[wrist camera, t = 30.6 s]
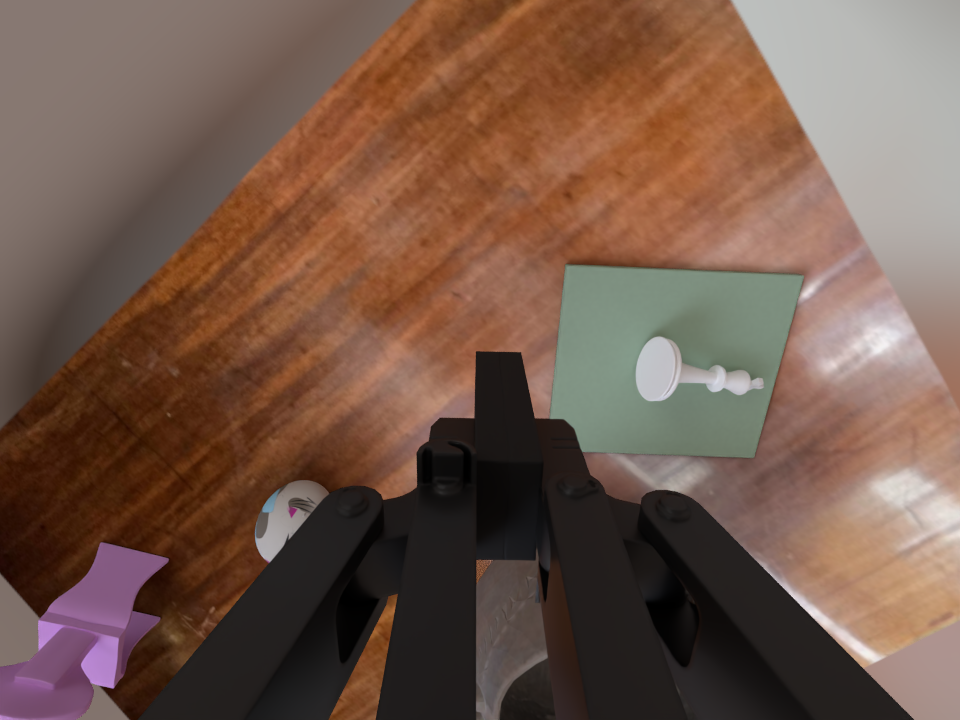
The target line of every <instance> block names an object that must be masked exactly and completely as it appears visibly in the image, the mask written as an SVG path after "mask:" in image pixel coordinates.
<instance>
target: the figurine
mask: <svg viewBox="0 0 960 720" xmlns="http://www.w3.org/2000/svg"><path fill="white" fill-rule="evenodd" d="M327 495H329V492H328V491H327V490H326V489H325V488H324V487H323V486H322V485H320V484H318V483H316V482H314V481H309V480H299V481H294V482H291V483H289V484H286V485H285V486H283V487H281V488H280V489H278V490H277V491H276V492H275V493H274V494H273V495H272V496H271V497H270V498H269V499H268V500H267V502H266V503H265V504H264V506H263V508H262V510H261V512H260V514H259V516H258V520H257V523H256V529H255V539H256V545H257V548H258V550H259V552H260V554H261V556H262V557H263V558H264V559H265V560H266V561H267V562H269V563H270V562H271V560H272V559H273V558H274V557H275V556H276V555H277V553H278V552H279V551H280V550H281V549H282V547H283V546H284V545H285V544H286V543H287V541H288V540H289V539H290V538H291V537H292V535H293V534H294V533H295V532H296V531H297V529H298V528H299V527H300V526H301V525H302V524H303V522H304V521H305V520H306V519H307V518H308V516H309V515H310V514H311V513H312V512H313V510H314V509H315V508H316V507H317V506H318V504H319V503H320V502H321V501H322V500H323V499H324V498H325V497H326V496H327Z"/></svg>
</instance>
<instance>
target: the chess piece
mask: <svg viewBox="0 0 960 720" xmlns="http://www.w3.org/2000/svg"><path fill="white" fill-rule="evenodd" d="M678 383H706V386H707V388H708V389H709V390H710V391H711V392H718V391H720V390H722V389H723V388H725V389H728V390H729V391H731V392H732V393H734V394H736V395H743V394H745V393H746V392H747V391H749V390H751V389H753V388H755V389H762V388H764V382H763V378H756V379H754V380H751V379H750V375H749V374H748V373H747V372H746V371H744V370H736V371H732V372H726V370H725V369H724V368H723V367H721V366H720V365H714V366H712V367H711V368H710V369H709V370H708V371H707V370H704V369H700V368H697V367H694V366H690V365H687V364H684V363H682V358H681V353H680V350H679V348H678V346H677V345H676V344H675V343H674V342H673V341H672V340H670V339H666V338H664V337H661V336H658V337H654V338H652V339H651V340H649V341H648V342H647V343H646V344H645V346H644V347H643V349H642V351H641V353H640V355H639V358H638V361H637V365H636V384H637V388H638V390H639V393H640V394H641V396H642V397H643V398H644V399H646V400H648V401H662V400H665V399H667V398H668V397H669V396H670V395H671V394H672V393H673V392H674V391H675V389H676V387H677V385H678Z"/></svg>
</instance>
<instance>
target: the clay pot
mask: <svg viewBox="0 0 960 720" xmlns="http://www.w3.org/2000/svg"><path fill="white" fill-rule="evenodd" d="M538 562H539V557H538V551H537V550H536V561H528V560H493V561H492V563H491V564H490V565H489V567H488V568H487V570H486V571H485V572H484V574H483V575H482V577H481V578H480V579H479V581H478V583H477V585H476V720H556V715H555V708H554V700H553V693H552V685H551V678H550V670H549V662H548V655H547V647H546V640H545V632H544V625H543V617H542V610H541V602H540V603H535V597H536V585H537V574H538ZM675 685H676V684H675ZM676 688H677V690H678V693H679V696H680V699H681V701H682V704H683V707H684V710H685V712H686V715H687V718H688V720H698V719H697V718H696V716H695V715H694V713H693V711H692V710H691V708H690V706H689V705H688V703H687V702H686V700H685V698H684V697H683V695H682V694H681V692H680V690H679V689H678V687H677V685H676Z"/></svg>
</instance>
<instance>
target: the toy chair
mask: <svg viewBox="0 0 960 720" xmlns="http://www.w3.org/2000/svg"><path fill="white" fill-rule="evenodd" d="M168 562H169V559H168V558H165V557H161V556H157V555H153V554H149V553H145V552H141V551H136V550H132V549H128V548H124V547H120V546H116V545H112V544H107V543H103V542H101V543H100V545H99V549H98V552H97V555H96V558H95V561H94V563H93V565H92V567H91V569H90V571H89V572H88V574H87V575H86V576H85V577H84V578H83V579H82V580H81V581H80V582H79V583H78V584H77V585H75V586H74V587H73V588H71V589H70V590H69V591H67V592H66V593H64V594H63V595H62V596H60V597H59V598H58V599H56V600H55V601H54V602H53V603H52V604H51V605H50V607H49V608H48V610H47V612H46V613H45V614H44V615H43V616H42V617H41V618H40V619H39V624H38V625H39V626H38V633H39V651H38V652H37V653H36V654H35V655H34V656H33V657H32V658H31V659H30V660H29V661H27V662H23V663H19V664H15V665H9V666H3V667H0V720H76V719H78V718H80V717H81V716H82V715H83V714H84V713H85V712H86V711H87V710H88V708H89V706H90V704H91V702H92V698H93V694H94V690H93V687H92V685H91V683H93V684H96V685H100V686H104V687H109V688H114V687H115V686H116V684H117V683H118V681H119V680H120V679H121V678H122V677H123V675H124V673H125V669H126V664H127V659H128V657H129V654H130V653H131V651H132V649H133V648H134V646H135V645H136V644H137V642H138V641H139V640H140V639H141V638H142V637H143V636H144V635H145V634H146V633H147V632H148V631H149V630H150V629H151V628H152V627H154V626H155V625H156V624H157V623H158V622H159V621H160V617H157V616H152V615H148V614H144V613H139V612H135V611H133V605H134V601H135V598H136V595H137V593H138V592H139V590H140V588H141V587H142V586H143V584H144V583H145V582H146V581H147V580H148V579H149V578H150V577H151V576H152V575H153V574H154V573H156V572H157V571H158V570H159V569H160V568H162V567H163V566H164V565H165V564H167V563H168Z"/></svg>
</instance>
